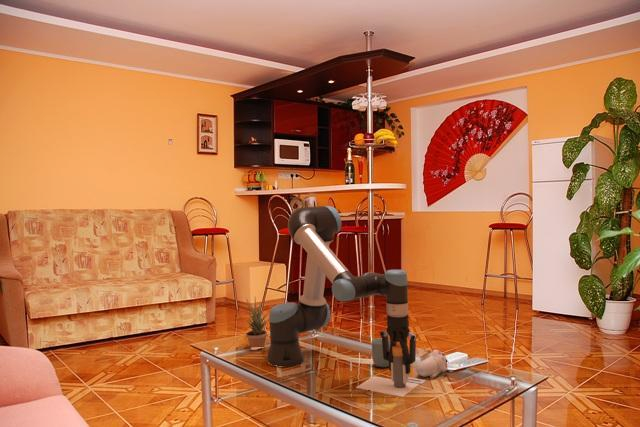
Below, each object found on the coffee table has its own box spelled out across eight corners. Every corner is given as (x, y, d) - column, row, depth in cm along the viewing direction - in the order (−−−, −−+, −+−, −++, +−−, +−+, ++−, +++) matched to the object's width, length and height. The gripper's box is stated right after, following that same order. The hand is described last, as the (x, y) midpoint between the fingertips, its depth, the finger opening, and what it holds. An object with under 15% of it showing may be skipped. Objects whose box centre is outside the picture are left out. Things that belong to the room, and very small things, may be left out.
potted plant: (242, 350, 239) (239, 295, 238) (256, 344, 247) (253, 291, 246) (259, 353, 233) (256, 297, 232) (273, 347, 241) (270, 293, 240)
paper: (355, 388, 186) (355, 387, 186) (373, 376, 197) (373, 376, 197) (402, 397, 176) (402, 396, 176) (419, 384, 186) (419, 384, 186)
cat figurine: (418, 354, 191) (444, 341, 200) (405, 361, 197) (431, 348, 206) (431, 379, 188) (457, 365, 197) (418, 385, 194) (444, 371, 203)
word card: (403, 381, 191) (403, 380, 191) (408, 377, 194) (408, 376, 194) (421, 384, 187) (421, 383, 187) (426, 380, 190) (426, 379, 190)
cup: (391, 369, 204) (390, 343, 204) (371, 369, 206) (370, 343, 205) (393, 363, 212) (392, 338, 211) (373, 362, 213) (372, 337, 213)
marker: (391, 387, 185) (390, 347, 184) (396, 383, 188) (395, 344, 188) (403, 388, 182) (401, 348, 182) (407, 384, 186) (406, 345, 186)
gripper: (371, 314, 186) (373, 380, 187) (415, 319, 177) (418, 388, 178) (381, 310, 193) (383, 374, 193) (424, 314, 183) (426, 381, 184)
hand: (400, 381), depth 185 cm, fingers closed on marker, 4 cm apart
